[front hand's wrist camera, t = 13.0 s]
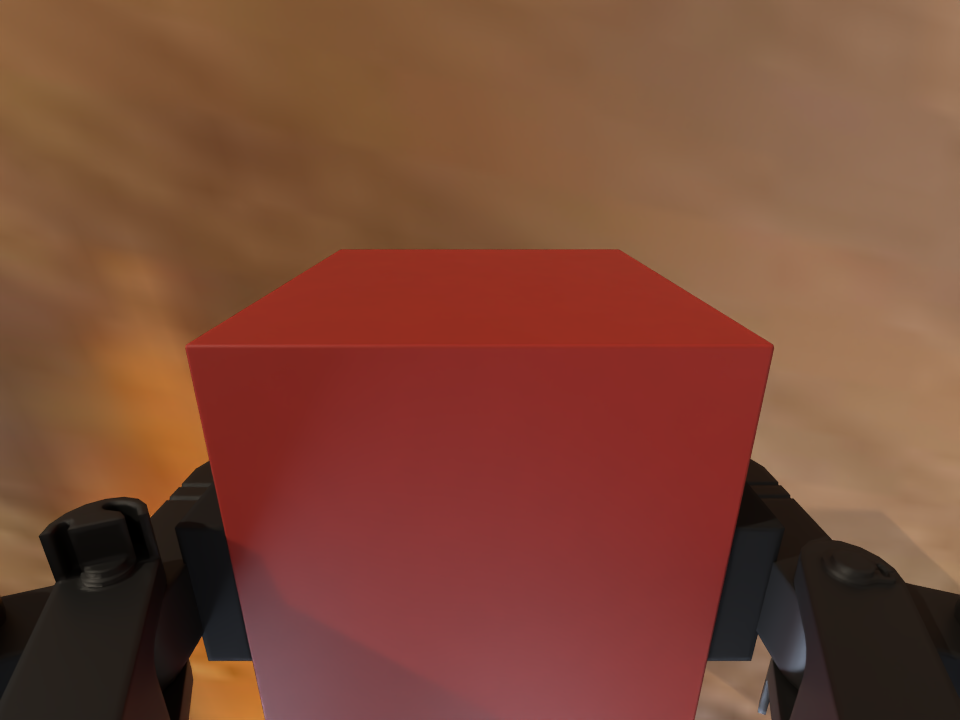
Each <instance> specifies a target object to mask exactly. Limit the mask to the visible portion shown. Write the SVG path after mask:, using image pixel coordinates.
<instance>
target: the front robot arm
mask: <svg viewBox="0 0 960 720" xmlns="http://www.w3.org/2000/svg"><path fill="white" fill-rule="evenodd" d="M39 538H40V541H41V544H42V546H43V549H44V552H45V554H46V557H47V560H48V562H49V565H50V568H51V570H52V573H53V576H54V578H55V581H56V583H55V585H53V586H49V587H45V588H40V589H35V590H31V591H26V592H22V593H17V594H12V595H8V596H3V597H0V720H189V711H190V703H191V694H192V686H193V675H192V669H191V665H190V661H189V657H190V655H191V654H192V652H193V650H194V649H195V647H196V645H197V644H198V642H199V640H200V638H201V637H203V641H204V645H205V649H206V653H207V657H208V661H252V656H251V651H250V647H249V642H248V637H247V633H246V628H245V623H244V619H243V614H242V609H241V605H240V600H239V595H238V591H237V586H236V581H235V577H234V572H233V568H232V563H231V558H230V554H229V549H228V544H227V540H226V535H225V530H224V526H223V521H222V516H221V512H220V507H219V502H218V498H217V493H216V488H215V484H214V479H213V474H212V470H211V465H210V461H208V462H206V463H205V464H203V465H201V466H200V467H198V468H197V469H195V470H194V472H193V473H192V474H191V475H190V476H189V477H188V478H187V479H186V480H185V481H184V482H183V483H182V487H179V488H178V489H177V490H176V491H175V492H174V493H173V494H172V495H171V496H170V500H167V501H166V502H165V503H164V504H163V505H162V506H161V507H160V508H159V509H158V510H157V511H156V512H155V514H154V515H153V516H152V517H151V518H150V515H149V512H148V508H147V505H146V504H145V503H143V502H142V501H141V500H139V499H135V498H128V497H119V498H109V499H104V500H100V501H96V502H93V503H89V504H86V505H83V506H81V507H79V508H77V509H74V510H72V511H70V512H68V513H66V514H64V515H63V516H61V517H60V518H58V519H57V520H55V521H54V522H52V523H51V524H49V525H48V526H47V527H46V529H45V530H44V531H43V532H42V533H41V534H40V535H39ZM758 635H759V636H760V638H761V640H762V641H763V643H764V645H765V646H766V648H767V650H768V652H769V653H770V655H771V657H772V658H771V661H770V665H769V669H768V672H767V676H766V679H765V683H764V687H763V690H762V694H761V698H760V702H759V708H758V712H759V713H762V714H765V715H766V711H767V707H768V704H769V702H770V710H771V718H772V720H960V595H959V594H954V593H949V592H945V591H940V590H935V589H931V588H926V587H922V586H917V585H912V584H908V583H905V582H904V580H903V579H902V578H901V577H900V575H899V574H898V573H897V571H896V570H895V569H894V568H893V567H892V566H890V565H889V564H888V563H886V562H885V561H884V560H883V559H881V558H880V557H878V556H876V555H874V554H872V553H870V552H869V551H867V550H865V549H863V548H861V547H858V546H855V545H851V544H848V543H845V542H842V541H835V540H832V539H831V538H830V537H829V536H828V535H827V534H826V533H825V532H824V531H823V530H822V529H821V528H820V526H819V525H818V524H817V523H816V522H815V521H814V520H813V519H812V518H811V517H810V516H809V515H808V514H807V513H806V511H805V510H804V509H803V508H802V507H801V506H800V505H799V504H798V503H797V502H796V501H795V500H794V499H793V498H790V494H789V493H788V492H787V491H786V490H785V489H784V488H783V487H782V486H781V485H778V482H777V480H776V479H775V478H774V477H773V476H772V475H771V474H770V473H769V472H768V471H767V470H766V469H765V468H764V467H763V466H761V465H760V464H758V463H756V462H755V461H753V460H751V459H750V463H749V467H748V472H747V477H746V481H745V486H744V491H743V495H742V500H741V505H740V509H739V514H738V519H737V523H736V528H735V533H734V537H733V542H732V547H731V551H730V556H729V561H728V565H727V570H726V575H725V579H724V584H723V589H722V593H721V598H720V603H719V607H718V612H717V617H716V621H715V626H714V631H713V635H712V640H711V645H710V649H709V654H708V659H707V661H751V659H752V655H753V651H754V647H755V643H756V640H757V636H758Z"/></svg>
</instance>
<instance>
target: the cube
mask: <svg viewBox="0 0 960 720" xmlns="http://www.w3.org/2000/svg"><path fill="white" fill-rule="evenodd" d="M185 349H186V353H187V358H188V363H189V367H190V372H191V377H192V381H193V386H194V391H195V395H196V400H197V405H198V409H199V414H200V419H201V423H202V428H203V432H204V437H205V442H206V446H207V451H208V456H209V460H210V465H211V470H212V474H213V479H214V484H215V488H216V493H217V498H218V502H219V507H220V512H221V516H222V521H223V526H224V530H225V535H226V540H227V544H228V549H229V554H230V558H231V563H232V568H233V572H234V577H235V581H236V586H237V591H238V595H239V600H240V605H241V609H242V614H243V619H244V623H245V628H246V633H247V637H248V642H249V647H250V651H251V656H252V661H253V665H254V670H255V675H256V679H257V684H258V689H259V693H260V698H261V703H262V707H263V712H264V717H265V720H694V719H695V715H696V710H697V705H698V701H699V696H700V691H701V687H702V682H703V677H704V673H705V668H706V663H707V659H708V654H709V649H710V645H711V640H712V635H713V631H714V626H715V621H716V617H717V612H718V607H719V603H720V598H721V593H722V589H723V584H724V579H725V575H726V570H727V565H728V561H729V556H730V551H731V547H732V542H733V537H734V533H735V528H736V523H737V519H738V514H739V509H740V505H741V500H742V495H743V491H744V486H745V481H746V477H747V472H748V467H749V463H750V458H751V453H752V449H753V444H754V439H755V435H756V430H757V425H758V421H759V416H760V411H761V407H762V402H763V397H764V393H765V388H766V383H767V379H768V374H769V369H770V365H771V360H772V355H773V351H774V346H773V344H771V343H770V342H768V341H766V340H765V339H763V338H762V337H760V336H758V335H757V334H755V333H753V332H752V331H750V330H749V329H747V328H745V327H744V326H742V325H740V324H739V323H737V322H736V321H734V320H732V319H731V318H729V317H727V316H726V315H724V314H723V313H721V312H719V311H718V310H716V309H715V308H713V307H711V306H710V305H708V304H706V303H705V302H703V301H702V300H700V299H698V298H697V297H695V296H693V295H692V294H690V293H689V292H687V291H685V290H684V289H682V288H681V287H679V286H677V285H676V284H674V283H672V282H671V281H669V280H668V279H666V278H664V277H663V276H661V275H659V274H658V273H656V272H655V271H653V270H651V269H650V268H648V267H646V266H645V265H643V264H642V263H640V262H638V261H637V260H635V259H634V258H632V257H630V256H629V255H627V254H625V253H624V252H622V251H621V250H339V251H337V252H336V253H334V254H333V255H331V256H329V257H328V258H326V259H324V260H323V261H321V262H320V263H318V264H316V265H315V266H313V267H312V268H310V269H308V270H307V271H305V272H303V273H302V274H300V275H299V276H297V277H295V278H294V279H292V280H290V281H289V282H287V283H286V284H284V285H282V286H281V287H279V288H277V289H276V290H274V291H273V292H271V293H269V294H268V295H266V296H264V297H263V298H261V299H260V300H258V301H256V302H255V303H253V304H252V305H250V306H248V307H247V308H245V309H243V310H242V311H240V312H239V313H237V314H235V315H234V316H232V317H230V318H229V319H227V320H226V321H224V322H222V323H221V324H219V325H217V326H216V327H214V328H213V329H211V330H209V331H208V332H206V333H205V334H203V335H201V336H200V337H198V338H196V339H195V340H193V341H192V342H190V343H188V344H187V345H186V348H185Z"/></svg>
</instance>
